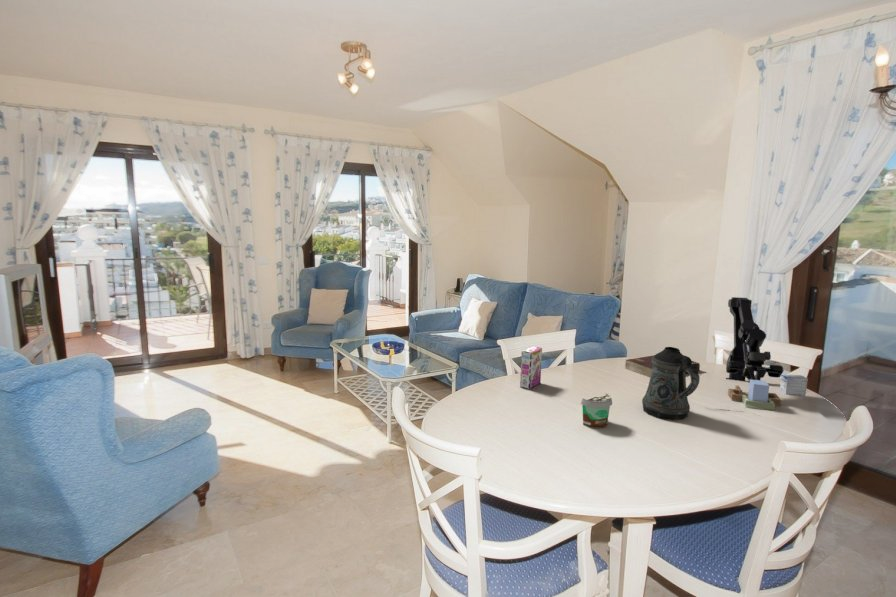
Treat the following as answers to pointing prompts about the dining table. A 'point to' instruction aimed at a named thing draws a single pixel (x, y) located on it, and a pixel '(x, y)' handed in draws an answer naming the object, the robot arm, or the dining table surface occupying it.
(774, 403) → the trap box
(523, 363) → the candy bar box
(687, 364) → the beer stein
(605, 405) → the food container
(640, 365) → the hardback book
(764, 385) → the block
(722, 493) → the dining table surface
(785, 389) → the medicine box
